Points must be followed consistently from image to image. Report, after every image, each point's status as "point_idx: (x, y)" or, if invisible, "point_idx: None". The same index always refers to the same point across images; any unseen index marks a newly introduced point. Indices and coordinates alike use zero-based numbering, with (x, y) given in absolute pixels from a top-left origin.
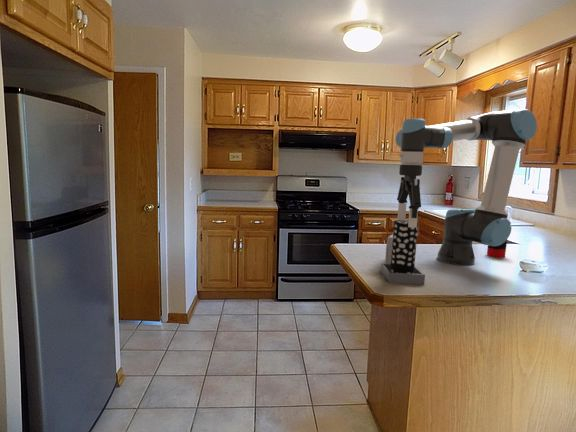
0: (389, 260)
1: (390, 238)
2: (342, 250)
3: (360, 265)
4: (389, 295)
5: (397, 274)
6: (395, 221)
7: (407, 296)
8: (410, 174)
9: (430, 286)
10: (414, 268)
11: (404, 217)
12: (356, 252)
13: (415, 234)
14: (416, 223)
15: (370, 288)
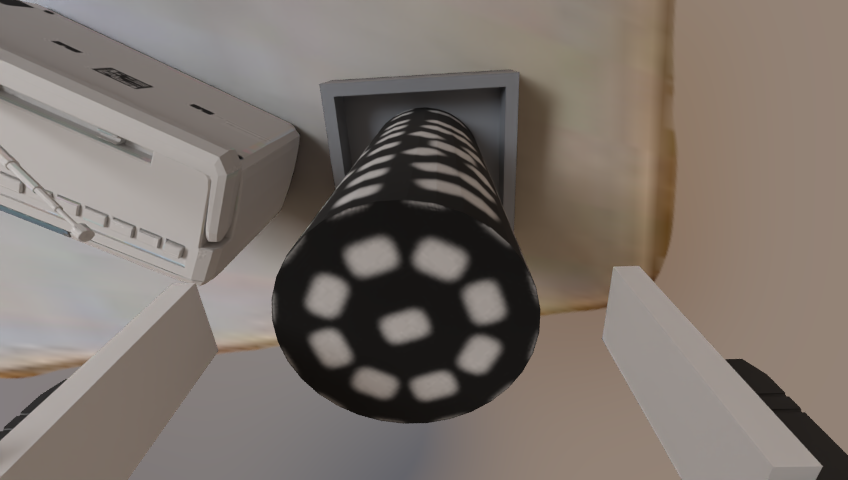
0: (275, 208)
1: (212, 271)
2: (36, 349)
3: (271, 305)
4: (656, 257)
5: (513, 215)
6: (387, 412)
7: (671, 192)
8: None
9: (537, 42)
10: (375, 93)
11: (175, 315)
12: (35, 295)
13: (495, 202)
14: (660, 296)
15: (578, 308)
